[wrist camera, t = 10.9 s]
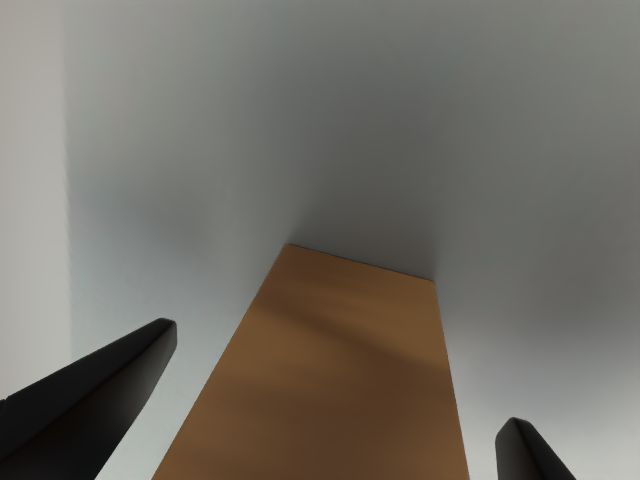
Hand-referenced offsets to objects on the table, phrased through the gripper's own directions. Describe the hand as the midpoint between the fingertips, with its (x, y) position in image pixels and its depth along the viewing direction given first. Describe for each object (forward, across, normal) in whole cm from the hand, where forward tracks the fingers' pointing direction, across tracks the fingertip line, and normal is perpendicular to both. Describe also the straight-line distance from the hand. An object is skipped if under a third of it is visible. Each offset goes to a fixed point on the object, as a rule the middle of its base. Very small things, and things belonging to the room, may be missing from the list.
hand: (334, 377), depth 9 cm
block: (+2, 0, 0) cm, 2 cm away
